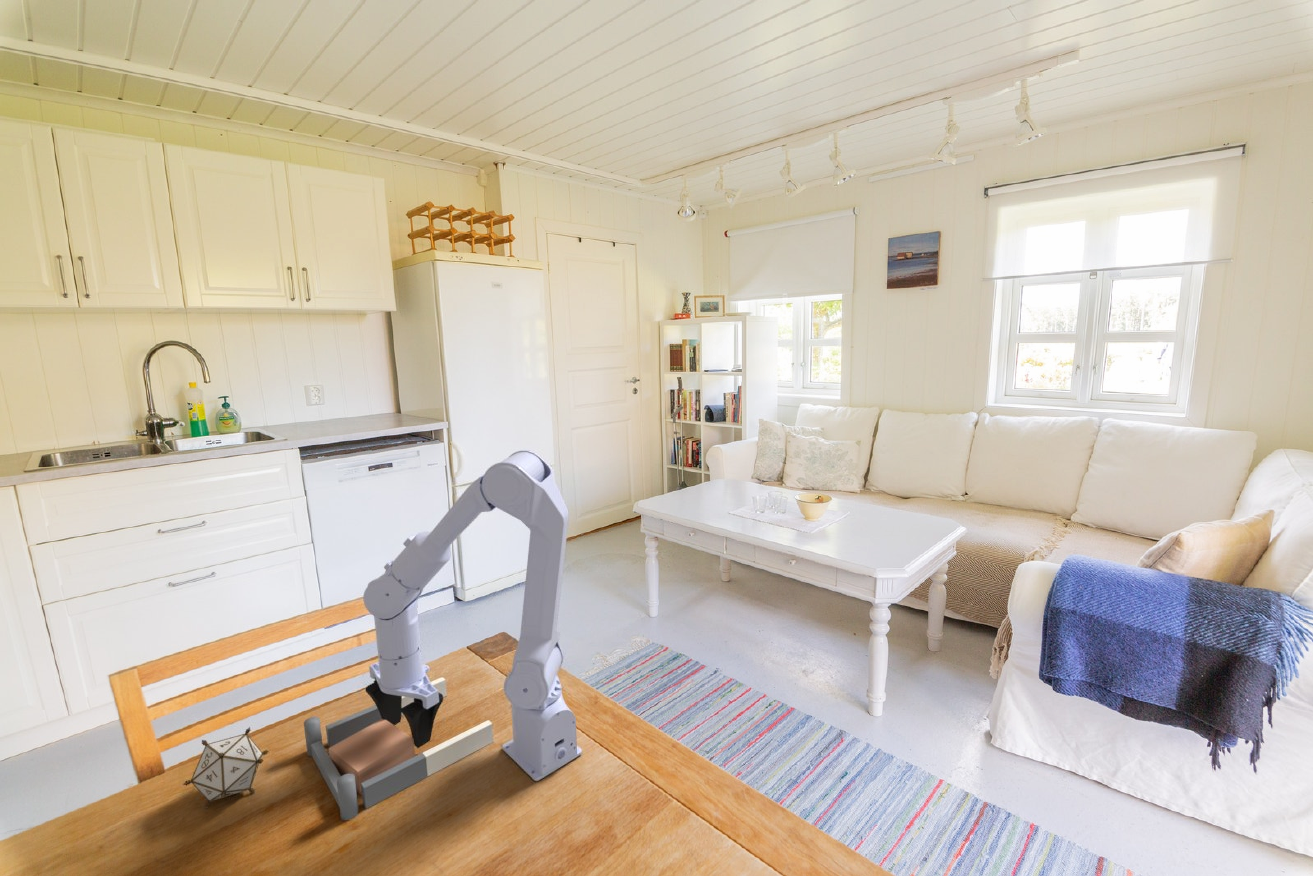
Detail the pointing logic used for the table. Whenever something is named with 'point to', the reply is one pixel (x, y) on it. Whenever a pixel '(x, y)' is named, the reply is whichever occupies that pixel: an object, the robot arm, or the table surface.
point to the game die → (227, 767)
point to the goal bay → (345, 784)
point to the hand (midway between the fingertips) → (407, 733)
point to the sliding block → (372, 751)
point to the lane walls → (454, 739)
